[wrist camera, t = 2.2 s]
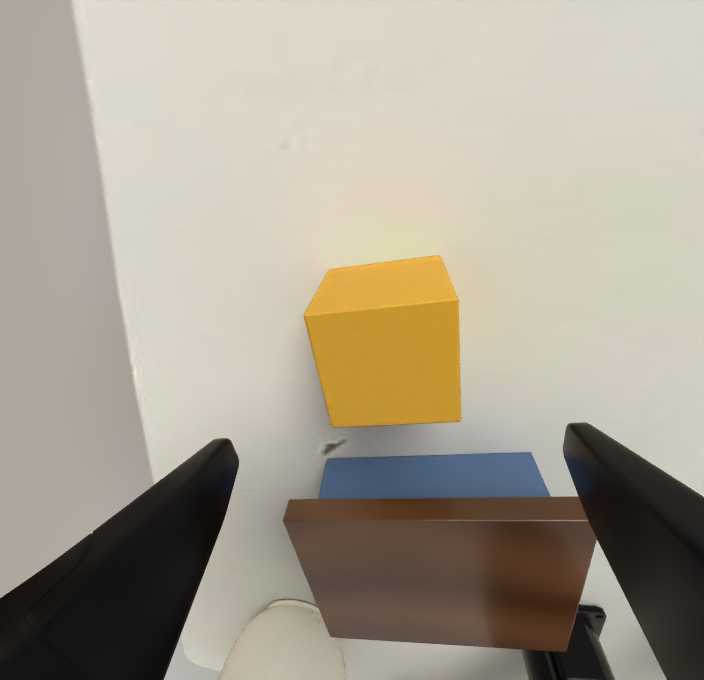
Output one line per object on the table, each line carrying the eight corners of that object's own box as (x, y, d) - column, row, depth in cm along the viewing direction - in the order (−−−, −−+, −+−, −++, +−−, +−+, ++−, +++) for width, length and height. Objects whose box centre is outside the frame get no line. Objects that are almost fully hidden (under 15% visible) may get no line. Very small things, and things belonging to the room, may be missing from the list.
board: (558, 627, 21) (566, 652, 20) (332, 616, 23) (329, 637, 22) (588, 495, 15) (602, 520, 14) (288, 498, 18) (282, 520, 17)
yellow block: (445, 353, 17) (461, 422, 13) (346, 361, 18) (331, 428, 14) (440, 254, 15) (458, 298, 11) (328, 269, 16) (302, 315, 11)
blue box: (521, 546, 24) (542, 614, 20) (350, 543, 26) (343, 605, 22) (531, 451, 20) (560, 517, 16) (327, 458, 22) (313, 517, 18)
